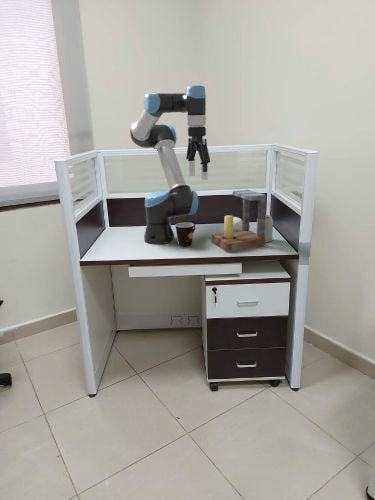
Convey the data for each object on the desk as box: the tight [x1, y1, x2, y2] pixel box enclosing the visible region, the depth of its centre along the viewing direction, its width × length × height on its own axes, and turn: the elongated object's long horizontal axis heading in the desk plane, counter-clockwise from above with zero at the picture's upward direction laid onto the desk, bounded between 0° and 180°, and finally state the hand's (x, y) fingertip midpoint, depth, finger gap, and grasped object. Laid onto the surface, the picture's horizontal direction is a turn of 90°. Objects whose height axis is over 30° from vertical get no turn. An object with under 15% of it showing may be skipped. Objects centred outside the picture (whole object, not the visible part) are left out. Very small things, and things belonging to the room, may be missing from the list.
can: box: [256, 214, 274, 244], centre depth 165 cm, size 8×8×12 cm
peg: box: [223, 215, 234, 240], centre depth 160 cm, size 4×4×14 cm
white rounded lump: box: [233, 216, 251, 231], centre depth 178 cm, size 9×9×12 cm
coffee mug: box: [174, 221, 196, 248], centre depth 164 cm, size 12×9×10 cm
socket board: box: [211, 189, 267, 253], centre depth 160 cm, size 16×19×24 cm
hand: (197, 177), depth 153 cm, fingers open, 13 cm apart
